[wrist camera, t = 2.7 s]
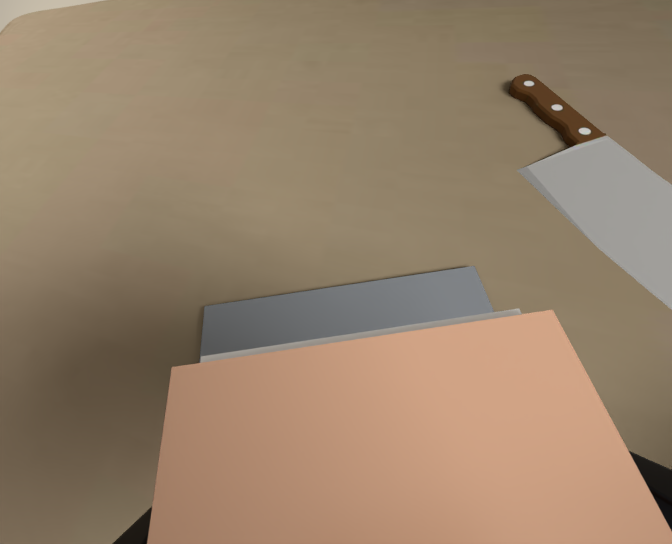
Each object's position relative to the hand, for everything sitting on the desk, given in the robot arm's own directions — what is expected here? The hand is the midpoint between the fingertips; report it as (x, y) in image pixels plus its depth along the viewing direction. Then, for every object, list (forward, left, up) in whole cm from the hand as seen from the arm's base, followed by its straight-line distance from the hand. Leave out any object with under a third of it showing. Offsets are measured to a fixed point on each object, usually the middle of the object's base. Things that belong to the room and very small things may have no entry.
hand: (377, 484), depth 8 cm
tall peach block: (0, 0, -8) cm, 8 cm away
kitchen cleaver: (+24, -6, -9) cm, 26 cm away
